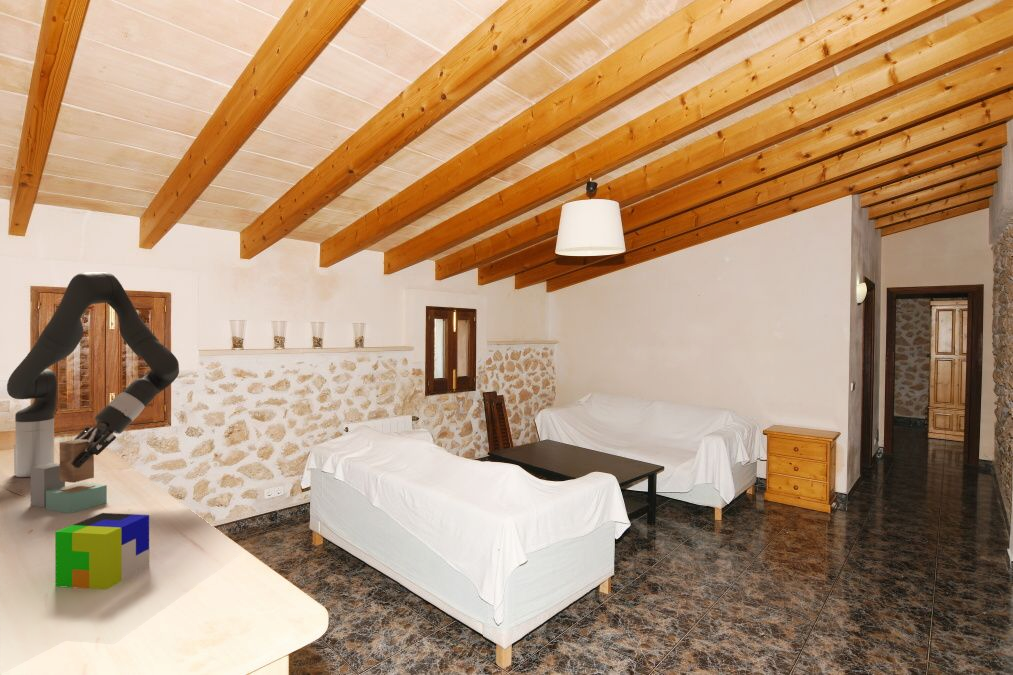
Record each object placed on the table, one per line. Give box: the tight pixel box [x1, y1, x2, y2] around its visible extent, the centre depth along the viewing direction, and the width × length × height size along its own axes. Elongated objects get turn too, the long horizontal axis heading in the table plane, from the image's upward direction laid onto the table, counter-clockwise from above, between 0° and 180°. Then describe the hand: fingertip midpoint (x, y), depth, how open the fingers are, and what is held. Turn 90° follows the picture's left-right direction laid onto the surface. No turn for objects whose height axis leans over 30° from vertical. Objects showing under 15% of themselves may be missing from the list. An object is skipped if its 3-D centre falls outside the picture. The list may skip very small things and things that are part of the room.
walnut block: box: [59, 439, 95, 484], centre depth 140 cm, size 5×5×10 cm
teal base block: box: [45, 481, 108, 514], centre depth 140 cm, size 9×9×5 cm
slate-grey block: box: [30, 462, 66, 508], centre depth 141 cm, size 5×5×10 cm
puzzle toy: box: [54, 512, 150, 590], centre depth 101 cm, size 10×10×10 cm
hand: (69, 464), depth 138 cm, fingers closed on walnut block, 6 cm apart
